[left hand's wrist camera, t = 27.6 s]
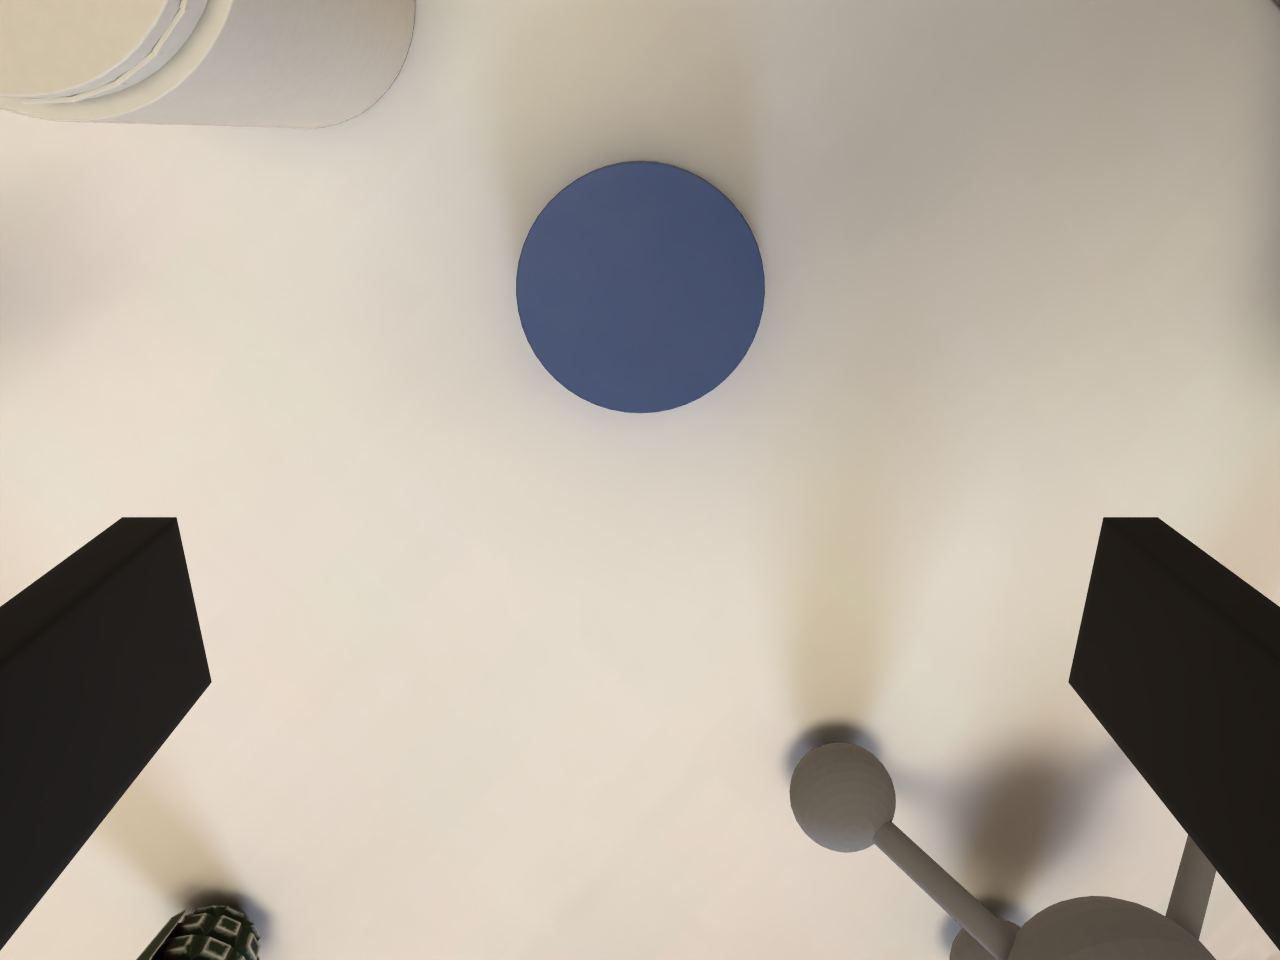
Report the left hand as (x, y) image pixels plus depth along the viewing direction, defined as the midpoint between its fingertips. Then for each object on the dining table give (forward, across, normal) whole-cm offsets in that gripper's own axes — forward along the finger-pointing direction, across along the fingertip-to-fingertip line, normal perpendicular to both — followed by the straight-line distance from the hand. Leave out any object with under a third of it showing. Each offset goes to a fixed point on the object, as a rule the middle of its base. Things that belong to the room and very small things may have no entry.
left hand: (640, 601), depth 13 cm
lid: (+27, 0, 0) cm, 27 cm away
